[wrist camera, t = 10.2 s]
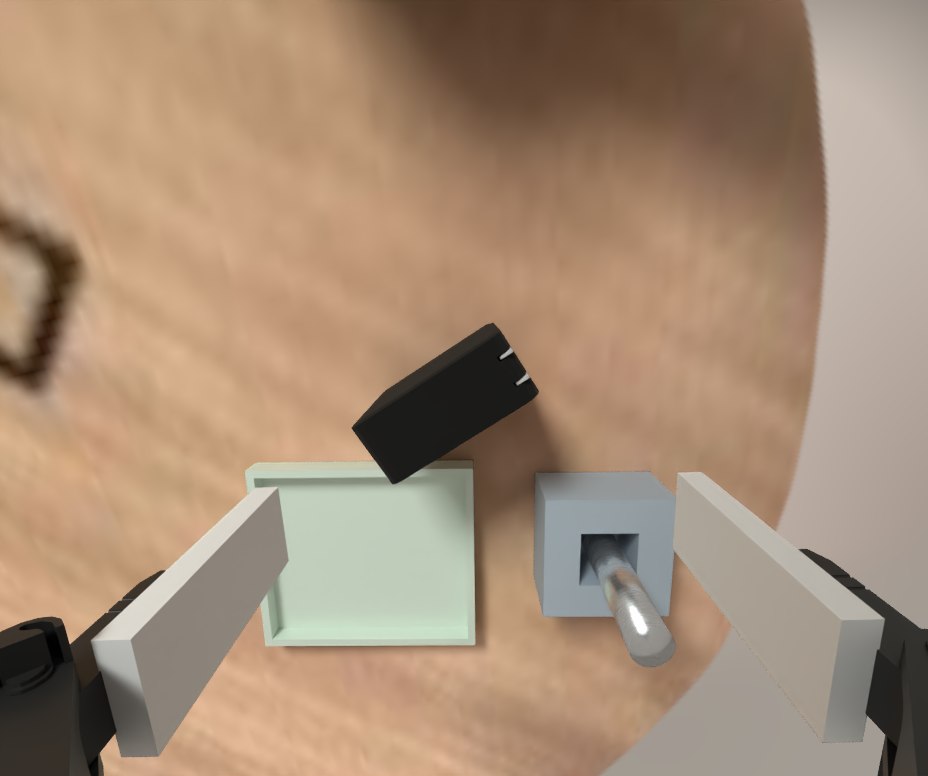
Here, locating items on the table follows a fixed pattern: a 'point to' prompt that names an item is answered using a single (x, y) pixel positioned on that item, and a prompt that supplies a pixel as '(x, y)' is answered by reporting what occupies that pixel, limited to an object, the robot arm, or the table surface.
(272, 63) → the table surface
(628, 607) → the cylinder
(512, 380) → the electronic device
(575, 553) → the square hole cube
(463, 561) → the tray
